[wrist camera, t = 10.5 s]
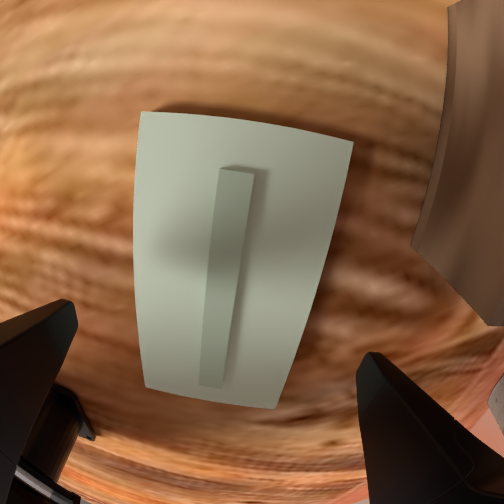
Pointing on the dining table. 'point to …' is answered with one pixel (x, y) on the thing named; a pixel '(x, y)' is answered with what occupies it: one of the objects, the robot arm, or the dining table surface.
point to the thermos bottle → (498, 403)
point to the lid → (229, 250)
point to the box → (470, 163)
